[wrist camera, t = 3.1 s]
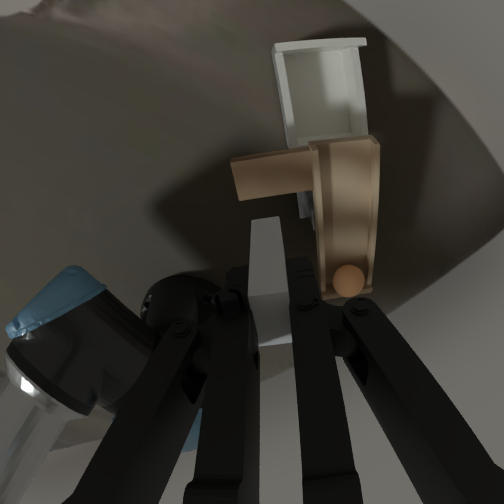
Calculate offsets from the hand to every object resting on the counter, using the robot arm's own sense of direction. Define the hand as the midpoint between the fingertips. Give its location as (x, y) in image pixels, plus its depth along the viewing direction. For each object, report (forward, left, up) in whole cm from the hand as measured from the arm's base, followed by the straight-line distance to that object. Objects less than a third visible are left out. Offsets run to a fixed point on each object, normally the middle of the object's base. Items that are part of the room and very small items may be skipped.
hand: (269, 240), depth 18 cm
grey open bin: (+7, +6, -23) cm, 25 cm away
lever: (+4, -6, -16) cm, 18 cm away
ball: (+7, -13, -13) cm, 20 cm away
